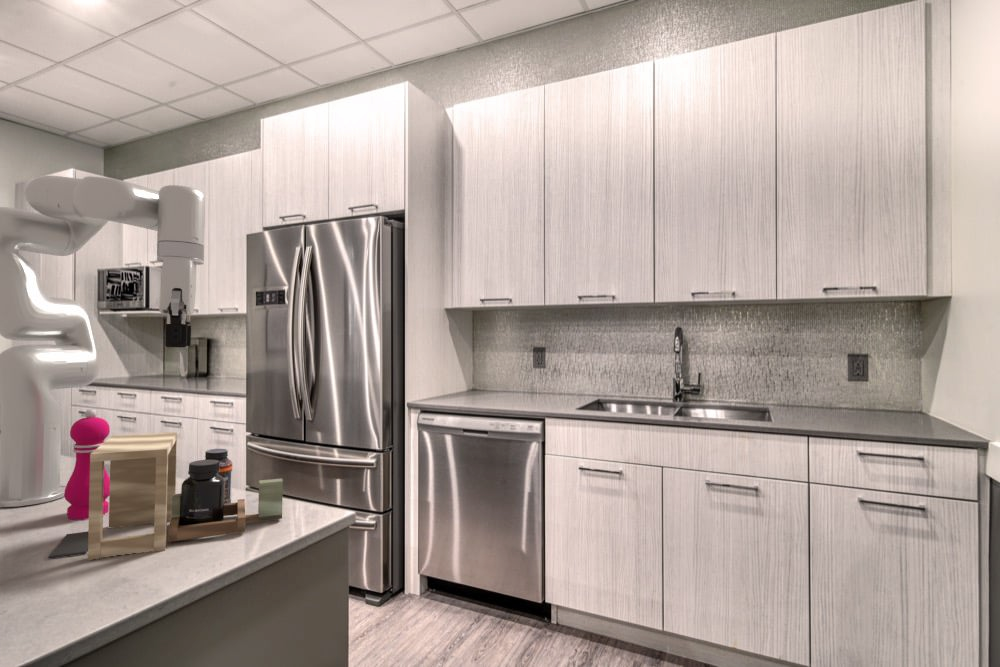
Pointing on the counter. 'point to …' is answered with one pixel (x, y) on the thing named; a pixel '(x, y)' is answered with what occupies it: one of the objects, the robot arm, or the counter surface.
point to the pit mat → (71, 545)
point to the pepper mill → (85, 464)
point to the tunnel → (132, 491)
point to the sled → (266, 511)
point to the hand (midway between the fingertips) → (178, 346)
